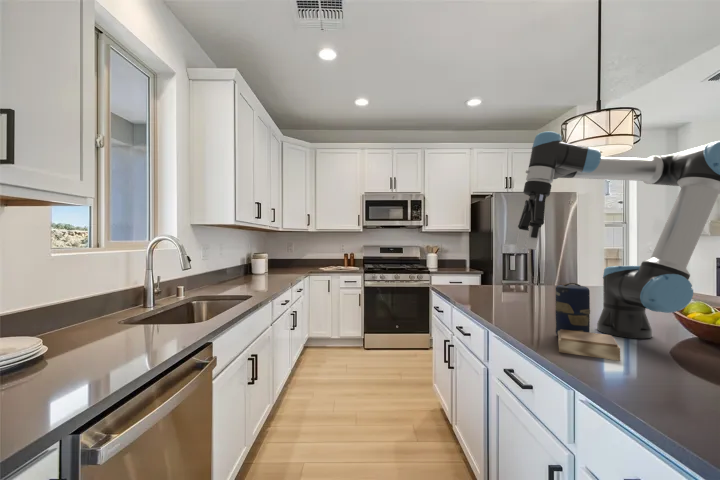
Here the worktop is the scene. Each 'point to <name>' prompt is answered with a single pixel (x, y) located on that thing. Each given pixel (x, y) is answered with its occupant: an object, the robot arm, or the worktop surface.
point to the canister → (572, 308)
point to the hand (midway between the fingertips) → (524, 249)
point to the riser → (588, 344)
